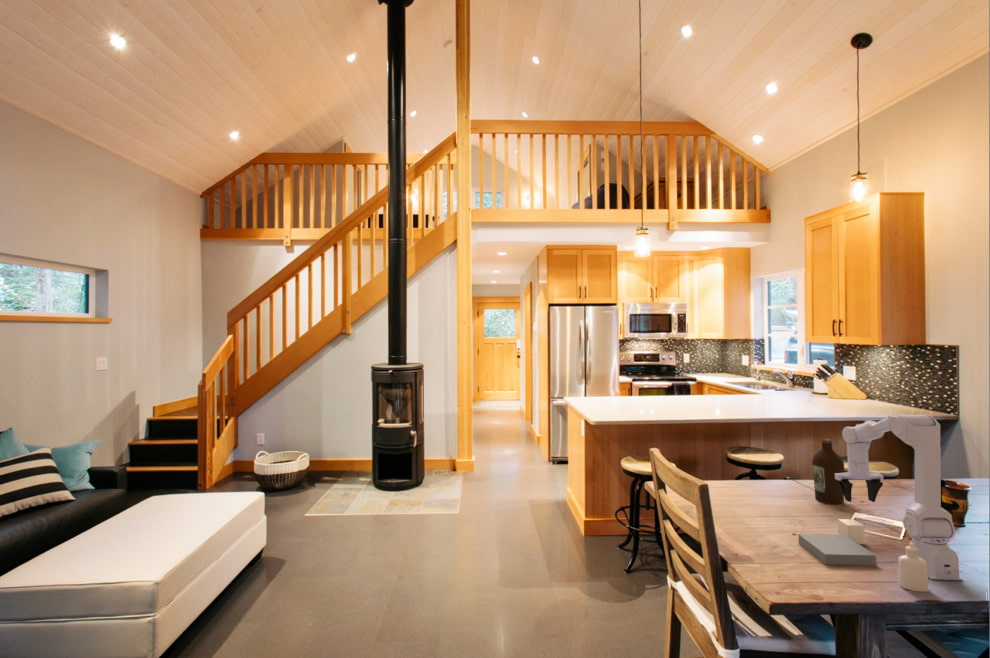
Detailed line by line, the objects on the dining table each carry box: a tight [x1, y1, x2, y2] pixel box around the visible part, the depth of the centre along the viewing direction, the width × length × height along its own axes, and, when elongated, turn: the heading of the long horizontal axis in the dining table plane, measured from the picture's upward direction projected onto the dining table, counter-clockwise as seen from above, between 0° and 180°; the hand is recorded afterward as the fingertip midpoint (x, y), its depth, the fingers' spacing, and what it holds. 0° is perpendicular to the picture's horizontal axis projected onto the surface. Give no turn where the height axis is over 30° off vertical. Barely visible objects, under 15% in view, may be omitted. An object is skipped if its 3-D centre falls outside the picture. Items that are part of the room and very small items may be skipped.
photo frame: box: [850, 512, 906, 542], centre depth 159 cm, size 15×1×18 cm
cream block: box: [837, 518, 866, 545], centre depth 149 cm, size 5×5×6 cm
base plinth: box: [798, 533, 877, 567], centre depth 140 cm, size 14×14×3 cm
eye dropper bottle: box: [897, 541, 929, 593], centre depth 120 cm, size 4×6×12 cm
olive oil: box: [811, 438, 845, 506], centre depth 184 cm, size 11×11×25 cm
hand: (860, 500), depth 156 cm, fingers open, 7 cm apart
